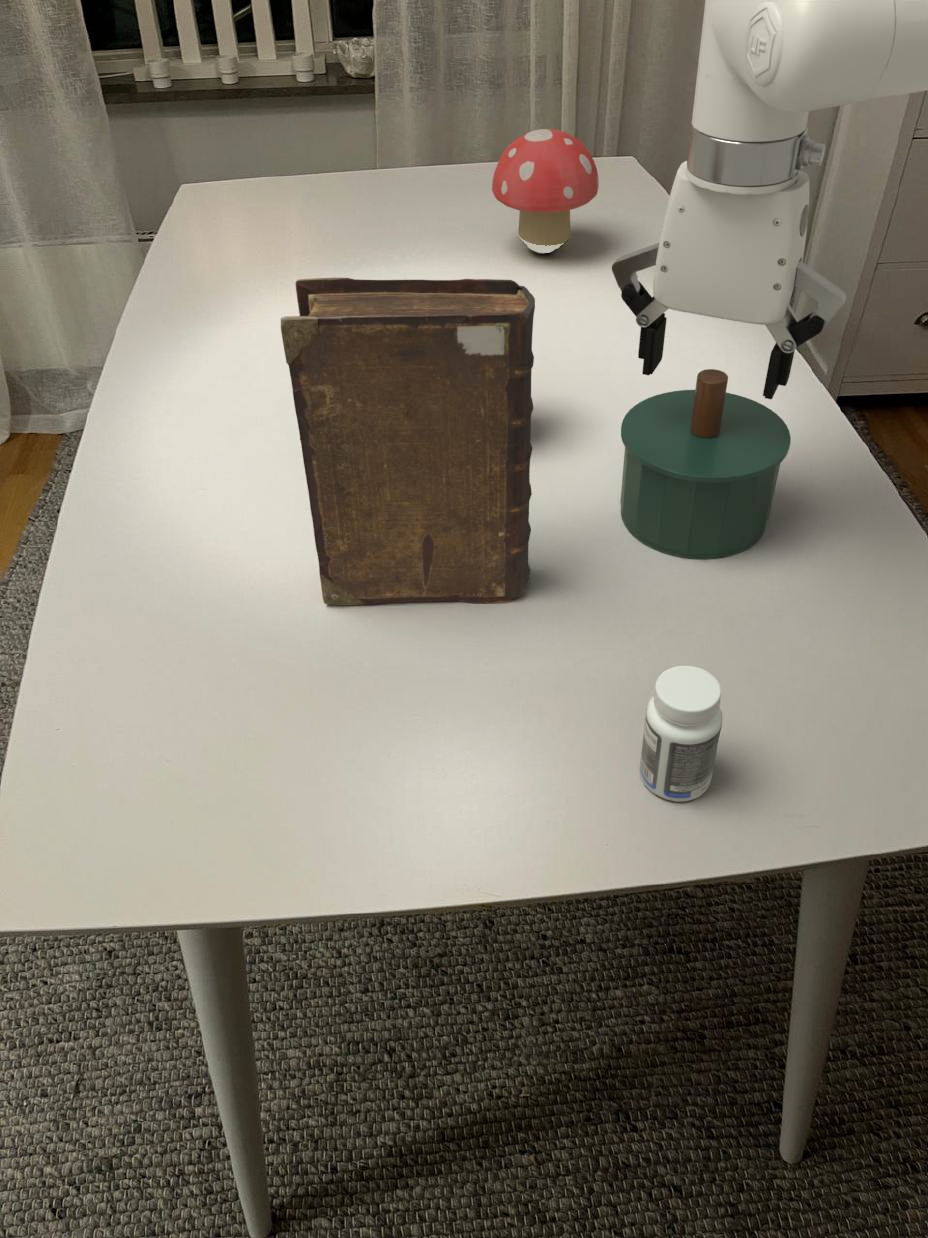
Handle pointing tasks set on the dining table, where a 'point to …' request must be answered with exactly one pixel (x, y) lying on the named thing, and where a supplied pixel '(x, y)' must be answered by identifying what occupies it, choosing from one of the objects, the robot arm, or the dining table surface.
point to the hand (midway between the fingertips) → (710, 378)
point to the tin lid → (705, 433)
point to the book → (415, 435)
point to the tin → (694, 511)
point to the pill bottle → (681, 733)
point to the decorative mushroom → (545, 183)
